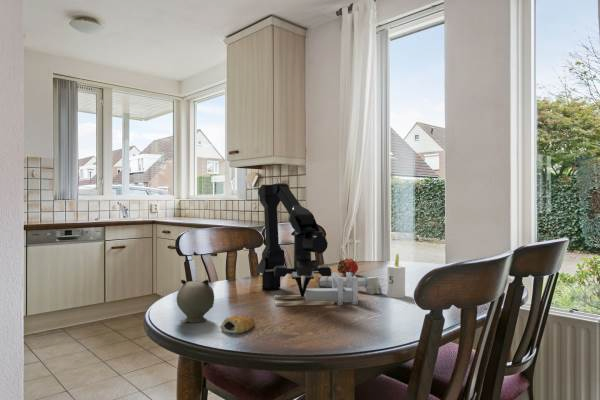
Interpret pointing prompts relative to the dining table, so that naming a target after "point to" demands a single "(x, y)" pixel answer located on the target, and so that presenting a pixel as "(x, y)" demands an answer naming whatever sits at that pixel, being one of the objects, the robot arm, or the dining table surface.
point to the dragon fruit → (347, 266)
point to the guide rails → (299, 301)
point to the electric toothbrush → (369, 283)
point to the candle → (396, 280)
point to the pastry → (237, 324)
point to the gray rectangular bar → (327, 294)
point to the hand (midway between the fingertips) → (302, 296)
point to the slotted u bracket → (350, 283)
